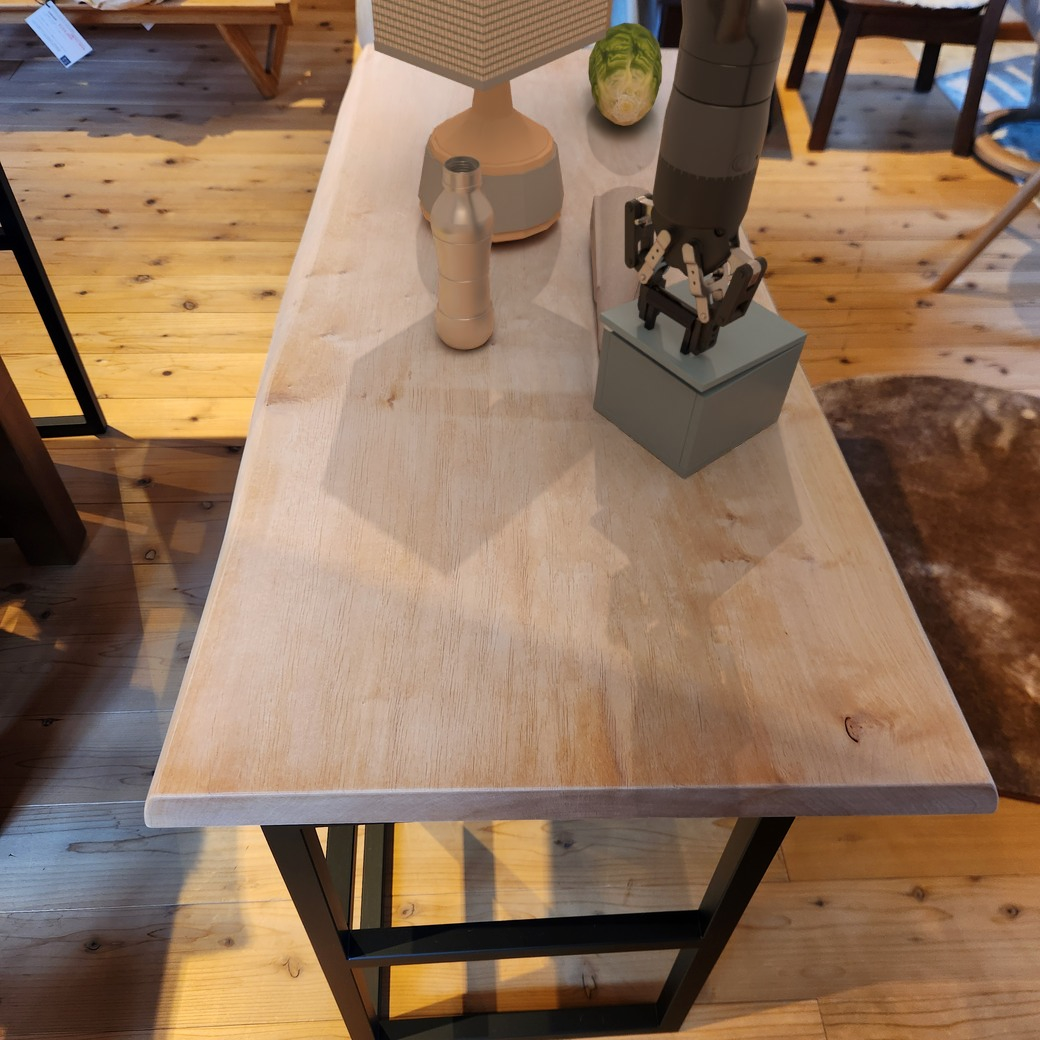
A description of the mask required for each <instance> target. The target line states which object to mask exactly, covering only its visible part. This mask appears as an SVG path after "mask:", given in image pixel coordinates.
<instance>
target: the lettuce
mask: <svg viewBox="0 0 1040 1040" xmlns="http://www.w3.org/2000/svg"><path fill="white" fill-rule="evenodd" d="M662 58H663V56H662V52H661V47H660V42H659V41H658V39H657V38H656V37H655V35H654V33H653V32H652V31H651V30H650V29H648V28H647V27H645V26H643V25H642V24H639V23H635V22H634V23H633V22H623V23H620V24H616V25H614V26H611V27H609V28H608V29H607V30H606V38H604V39H602V40H600V41H597V42H595V43H594V46H593V48H592V50H591V52H590V55H589V57H588V71H587V72H588V81H589V84H590V91H591V97H592V99H593V101H594V103H595V104H596V105H595V106H596V107H597V109H598V111H599V113H600V114H601V115H603V116H604V117H605V118H606V119H607V120H609V121H610V122H612V123H614V124H615V125H618V126H623V127H624V126H631V125H634V124H635V123H638V122H639V121H640V120H642V119H643V118H645V116H646V115H647V114H648V113H649V112H650V111H651V110H652V108H653V106H655V102H656V100H657V97H658V94H659V91H660V87H661V84H662V80H663V64H662V63H663V62H662Z"/></svg>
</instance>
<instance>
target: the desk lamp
mask: <svg viewBox="0 0 1040 1040" xmlns="http://www.w3.org/2000/svg"><path fill="white" fill-rule="evenodd" d="M370 2H371V3H370V4H371V14H372V26H373V37H374V40H373V50H374V51H375V52H377V53H380V54H383V55H385V56H388V57H390V58H393V59H396V60H398V61H401V62H404V63H405V64H409V65H412V66H414V67H416V68H419V69H422V70H423V71H424V70H425V71H427V72H430V73H432V74H434V75H438V76H440V77H443V78H446V79H448V80H451V81H453V82H455V83H458V84H460V85H463V86H466V87H469V88H471V89H474V90H473V95H472V102H471V106H470V107H468V108H467V109H464V110H463V111H461V112H459V113H458V114H456V115H454V116H452V117H450V118H447V119H446V120H444V121H442V122H441V123H440V124H438V125H437V126H435V127H433V130H432V132H431V134H429V137H428V139H427V142H426V144H425V149H424V155H423V160H422V161H423V162H422V167H421V174H420V179H419V186H418V192H417V197H418V199H419V207H420V209H421V212H422V214H423V216H424V219H425V220H427V221H428V222H430V215H431V211H432V207H433V205H434V203H435V201H436V200H437V198H438V197H439V195H440V194H441V193H442V191H443V190H444V189H445V188H444V187H443V185H442V177H443V163H444V162H445V161H446V160H447V159H449V158H451V157H455V156H470V157H473V158H476V159H477V160H479V161H480V163H481V176H482V185H481V187H480V189H481V190H482V192H483V193H484V194H485V195H486V197H487V199H488V200H489V202H490V203H491V205H492V208H493V211H494V215H495V223H494V230H493V237H492V243H505V242H512V241H517V240H523V239H525V238H528V237H531V236H533V235H536V234H538V233H541V232H543V231H547V230H548V229H549V228H550V227H551V226H552V225H554V223H555V222H557V220H558V219H559V218H561V216H562V215H561V214H562V209H563V204H564V197H565V191H564V185H563V177H562V169H561V162H560V155H559V148H558V144H557V143H556V141H555V139H554V136H552V134H551V132H550V131H549V129H548V128H547V127H546V126H544V125H542V124H540V123H538V122H537V121H535V120H533V119H532V118H530V117H528V116H527V115H526V114H523V113H522V112H521V111H519V110H517V109H516V108H514V105H513V103H514V102H513V96H512V88H511V87H512V86H511V80H514V79H516V78H518V77H521V76H523V75H525V74H527V73H529V72H532V71H535V70H536V69H539V68H541V67H544V66H546V65H548V64H550V63H553V62H555V61H557V60H559V59H562V58H564V57H566V56H568V55H570V54H572V53H574V52H577V51H579V50H582V49H584V48H586V47H588V46H590V45H593V44H596V42H597V41H600V40H602V39H604V38H606V31H607V30H608V29H607V18H608V9H609V0H370Z"/></svg>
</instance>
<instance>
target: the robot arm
mask: <svg viewBox="0 0 1040 1040" xmlns="http://www.w3.org/2000/svg"><path fill="white" fill-rule="evenodd" d="M681 12H682V13H681V14H682V26H681V32H680V38H679V44H678V49H677V56H676V62H675V63H676V64H675V69H674V77H673V82H672V86H671V91H670V93H669V94H670V95H669V97H668V100H667V105H666V108H665V112H664V118H663V124H662V131H661V137H660V143H659V150H658V157H657V163H656V169H655V175H654V182H653V188H652V193H651V192H650V193H651V194H650V193H647V194H645V195H641V196H639V197H637V198H634V199H633V200H630V201H628V202H626V204H625V264H626V266H627V267H628V268H629V269H632V268H634V269H635V270H636V271H637V272H638V279H639V283H640V286H639V291H638V298H637V299H638V304H637V305H638V310H639V318H640V319H642V320H643V321H645V320H646V316H647V311H648V307H649V304H648V303H647V302H646V301H645V296H646V293H647V291H648V290H649V289H650V287H652V286H653V285H656V284H657V285H659V286H661V287H662V288H664V289H665V287H666V285H667V279H666V278H664V277H663V276H664V275H666V274H667V272H669V270H670V269H671V268H673V269H676V270H679V271H680V272H681V273H682V274H683V275H684V276H685V277H687V279H688V280H689V287H690V293H691V295H692V296H695V298H696V306H697V313H698V317H697V318H696V319H695V324H694V328H693V333H692V337H691V342H690V347H689V352H691V353H692V354H694V355H695V356H697V355H699V354H701V353H703V352H705V351H707V350H709V349H710V348H712V347H714V345H715V344H716V341H717V337H718V333H719V329H720V327H724V326H726V325H728V324H730V323H732V322H733V321H735V320H737V319H739V318H741V317H743V316H744V315H745V314H746V312H747V310H748V307H749V305H750V303H751V301H752V300H753V299H754V296H755V295H756V293H757V290H758V288H759V286H760V284H761V282H762V280H763V278H764V277H765V273H766V272H767V269H768V260H767V259H766V258H765V257H763V256H757V257H755V258H752V257H751V256H750V255H749V254H748V253H746V252H745V251H744V250H742V249H741V240H740V234H739V232H740V226H741V224H742V222H743V220H744V218H745V216H746V214H747V213H748V212H747V211H748V208H749V205H750V200H751V196H752V192H753V188H754V184H755V180H756V176H757V173H758V167H759V163H760V159H761V156H762V155H761V154H762V150H763V147H764V142H765V139H766V135H767V130H768V126H769V118H770V109H771V108H770V107H771V101H772V95H773V91H774V87H775V82H776V79H777V75H778V71H779V66H780V63H781V58H782V53H783V50H784V45H785V40H786V36H787V30H788V23H789V15H788V9H787V6H786V4H785V2H784V1H783V0H681ZM654 230H655V232H654ZM655 236H656V238H655ZM639 241H640V250H639V251H638V243H639ZM728 264H729V267H730V270H729V268H728ZM709 274H710V275H712V277H711V278H710V279H708V280H706V281H704V278H703V277H705V276H707V275H709ZM727 285H728V288H727V291H726V286H727ZM711 293H712V299H713V303H712V304H711V301H710V295H711ZM659 314H660V311H659V310H658V313H657V316H658V315H659Z"/></svg>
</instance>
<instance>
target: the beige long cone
mask: <svg viewBox="0 0 1040 1040" xmlns="http://www.w3.org/2000/svg"><path fill="white" fill-rule="evenodd" d="M647 193H650V194H652V193H651V192H650V191H648V190H647V189H644V188H642V187H640V186H634V185H623V186H618V187H614V188H611V189H609V190H606V191H605V192H603V193H602V194H601V195H594V196H593V197H592V205H591V210H590V211H591V213H590V219H589V237H590V253H591V265H592V266H591V269H592V270H591V271H592V286H593V300H594V303H596V317H597V318H596V319H597V330H598V335H597V341H598V342H597V344H598V350H599V353H600V352H601V344H602V336H603V328H604V327H606V325H605V324H603V323H602V322H600V321H599V317H600V313H602V312H605V311H607V310H610V309H612V308H615V307H617V306H620V305H623V304H625V303H628V302H630V301H633V300H635V297H636V293H637V290H638V287H639V283H640V281H639V279H638V272H637V271H636V270H635V269H634V268H632V269H629V268H628V267H627V266H626V264H625V204H626V202H628V201H630V200H633V199H634V198H637V197H639V196H641V195H645V194H647ZM654 233H655V230H654ZM639 250H640V241H639V243H638V251H639Z"/></svg>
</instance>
